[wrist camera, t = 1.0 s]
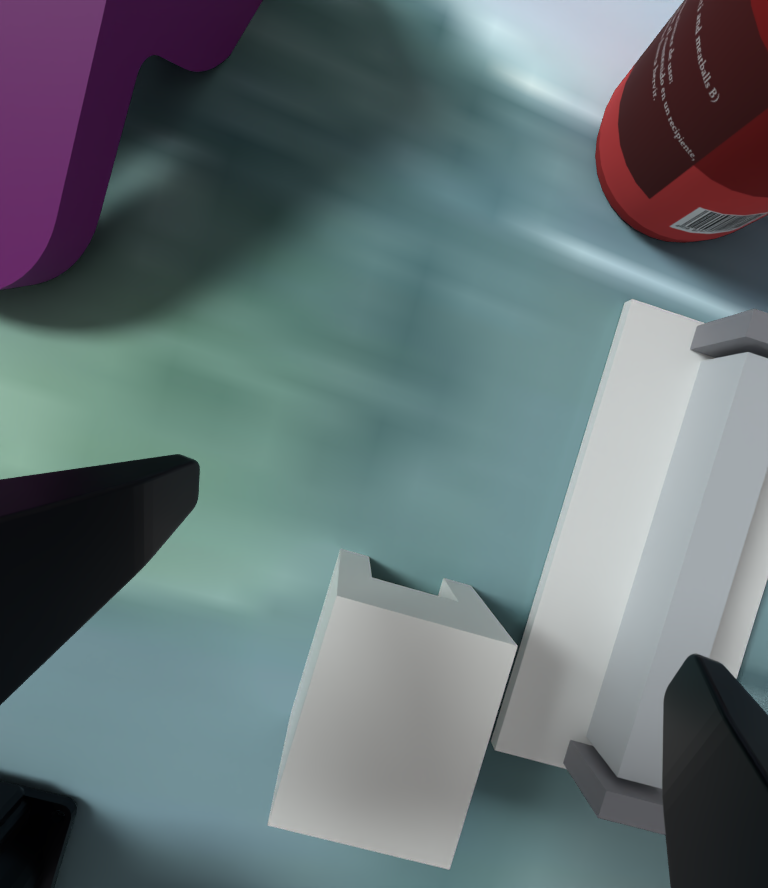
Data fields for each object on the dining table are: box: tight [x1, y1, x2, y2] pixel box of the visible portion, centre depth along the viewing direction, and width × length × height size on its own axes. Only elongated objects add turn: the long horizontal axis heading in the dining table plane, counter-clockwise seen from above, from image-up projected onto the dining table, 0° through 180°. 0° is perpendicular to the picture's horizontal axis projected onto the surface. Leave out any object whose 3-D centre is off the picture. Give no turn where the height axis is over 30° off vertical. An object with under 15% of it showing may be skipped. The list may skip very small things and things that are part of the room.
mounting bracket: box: [0, 0, 263, 290], centre depth 18 cm, size 9×8×18 cm
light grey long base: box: [491, 299, 768, 835], centre depth 20 cm, size 19×9×4 cm, turn 163°
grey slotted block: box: [268, 548, 518, 870], centre depth 18 cm, size 7×6×6 cm
